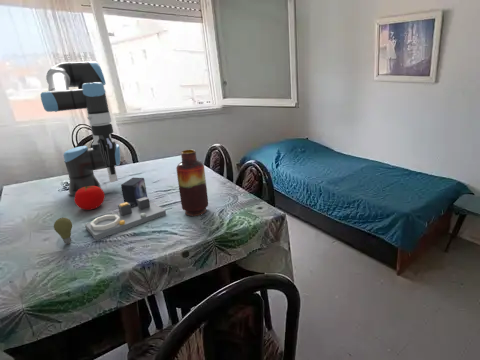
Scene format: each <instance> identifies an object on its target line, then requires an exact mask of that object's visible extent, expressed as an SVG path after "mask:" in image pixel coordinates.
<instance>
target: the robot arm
mask: <svg viewBox="0 0 480 360" xmlns="http://www.w3.org/2000/svg"><path fill="white" fill-rule="evenodd" d="M45 81H46V82H47V85H48V87H47V88H48V89H47V91H43V92H41V93H40V100H41V103H42V106H43V109H44V111H45V112H48V113H49V112H50V113H51V112H53V113H54V112H55V113H57V112H64V111H74V110H81V109H82V110H84V109H86V112H87V120H88V121H89V125H90V131H91V133H92V139H93V141H92V143H91V147H90V148H89V147H88V146H87V145H81V146H76V147H73V148H70V149H67V150H66V151H64V152H63V160H64V163H65V167H66V171H67V173H68V174H67V175H68V179H69V183H68V185H69V186H68V193H69V196H71V197H75V194H76V192H77V191H78V190H79V189H81V188H83V187H84V186H85V187H86V186H93V185H94V186H97V187H100V188H101V184H100V182H99V181H98V179H97V177H96V176H95V173H94V171H97V170H102V169H106V170H107V174H108V179H109V183H114V182H118V181H119V180H118V175H117V171H116V167H118V166H120V164H121V150H120V145H119V144H118V143H117V142H116V140H114V139H113V138H112V135H111V134H113V133H114V127H113V124H112V118H111V114H110V109H109V105H108V100H107V99H108V98H107V95H106V89H105V86H106V85H107V84H106V80H105V76H104V73H103V70H102V68H101V66H100V64H99V63H98V61H89V60H87V61H85V60H84V61H67V62H66V61H64V62H61V63H58V64H56V65H53V66H52V67H51V68H50V69H48V71H47V73H46V76H45ZM70 88H78V89H70ZM101 189H102V188H101Z"/></svg>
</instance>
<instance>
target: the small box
mask: <svg viewBox="0 0 480 360" xmlns="http://www.w3.org/2000/svg"><path fill="white" fill-rule="evenodd" d="M120 187H121V194H122V199H123V203H125V202H128V203H129V204H130V205H131V207H138V203H137V199H140V198H143V197H147V198H148V191H147V187H146V180H145V178H144V177H131V178H130V179H128V180H126V181H125V182H123V183H122V184H120Z"/></svg>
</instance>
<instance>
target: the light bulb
mask: <svg viewBox="0 0 480 360" xmlns="http://www.w3.org/2000/svg"><path fill="white" fill-rule="evenodd" d="M53 229H54V231H55V232H56V234H58V235H59V236H60V237H61V239H62V240H63V241H62V242H63V243H64V244H66V245H69V244H71V242H72V237H71V235H72V229H73V223H72V220H71V219H69V218H68V217H60V218H59V217H58V219H57V220H55V221H54V223H53Z"/></svg>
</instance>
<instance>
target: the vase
mask: <svg viewBox="0 0 480 360" xmlns="http://www.w3.org/2000/svg"><path fill="white" fill-rule="evenodd" d="M180 158H181V162H179V163H177V166H176V168H175V169H176V176H177V183H178V191H179V197H180V203H181V208H182V210H183V211H184V214H185V215H186V216H187V217H199V216H203V215H204V214H205V213H207V207H208V206H209V200H208V199H209V197H208V189H207V179H206V172H205V171H206V170H205V165H204V163H203V162H202V161H201V160H199V159H198V157H197V152H196V150H195V149H185V150H182V151H181V152H180Z"/></svg>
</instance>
